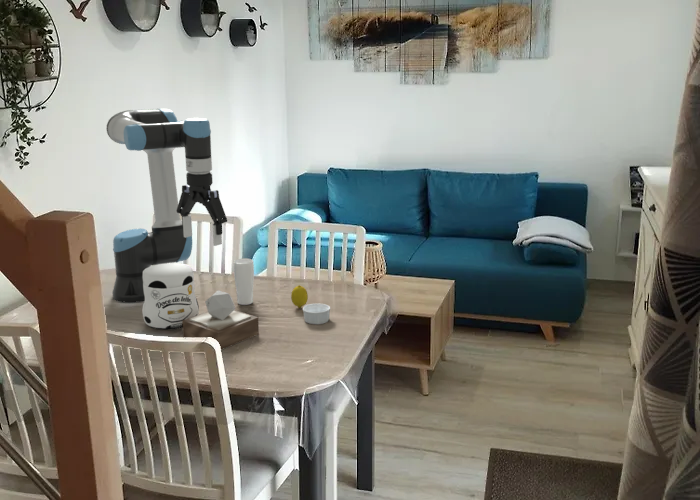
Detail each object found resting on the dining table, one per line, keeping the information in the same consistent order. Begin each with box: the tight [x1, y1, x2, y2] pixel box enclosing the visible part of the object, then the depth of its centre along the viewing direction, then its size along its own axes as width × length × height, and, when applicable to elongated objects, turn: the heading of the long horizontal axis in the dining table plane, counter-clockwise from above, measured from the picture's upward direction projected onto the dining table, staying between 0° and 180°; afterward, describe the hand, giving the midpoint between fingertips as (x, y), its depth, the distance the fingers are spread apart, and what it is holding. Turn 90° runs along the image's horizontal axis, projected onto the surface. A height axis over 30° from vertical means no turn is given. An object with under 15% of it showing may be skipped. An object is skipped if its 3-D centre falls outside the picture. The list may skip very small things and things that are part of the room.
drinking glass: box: [233, 258, 255, 306], centre depth 246 cm, size 7×7×15 cm
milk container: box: [141, 262, 200, 331], centre depth 227 cm, size 17×17×18 cm
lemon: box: [290, 284, 309, 309], centre depth 242 cm, size 6×6×8 cm
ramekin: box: [302, 302, 331, 325], centre depth 231 cm, size 9×9×4 cm
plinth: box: [182, 309, 260, 350], centre depth 218 cm, size 16×16×6 cm
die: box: [204, 289, 236, 320], centre depth 217 cm, size 8×9×10 cm
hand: (202, 240), depth 219 cm, fingers open, 13 cm apart
